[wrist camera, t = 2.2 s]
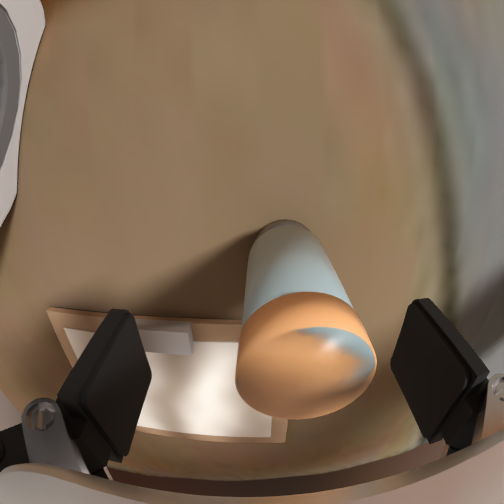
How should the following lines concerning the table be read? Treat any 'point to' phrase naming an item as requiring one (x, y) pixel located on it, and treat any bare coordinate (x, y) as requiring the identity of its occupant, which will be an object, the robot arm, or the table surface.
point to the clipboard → (183, 376)
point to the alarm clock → (15, 84)
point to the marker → (298, 330)
